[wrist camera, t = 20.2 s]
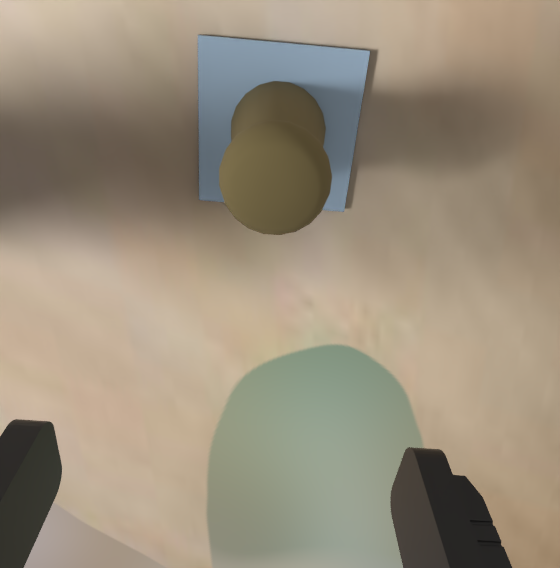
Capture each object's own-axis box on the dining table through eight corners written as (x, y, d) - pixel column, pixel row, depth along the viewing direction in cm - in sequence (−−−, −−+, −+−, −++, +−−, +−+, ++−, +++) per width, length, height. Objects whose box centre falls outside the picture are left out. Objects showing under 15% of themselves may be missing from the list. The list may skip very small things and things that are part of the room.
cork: (260, 59, 27) (247, 88, 18) (344, 115, 29) (373, 169, 20) (213, 148, 30) (181, 213, 21) (293, 195, 32) (296, 275, 22)
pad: (200, 197, 32) (199, 200, 32) (199, 34, 27) (197, 35, 27) (343, 209, 33) (344, 211, 32) (368, 50, 28) (370, 51, 27)
